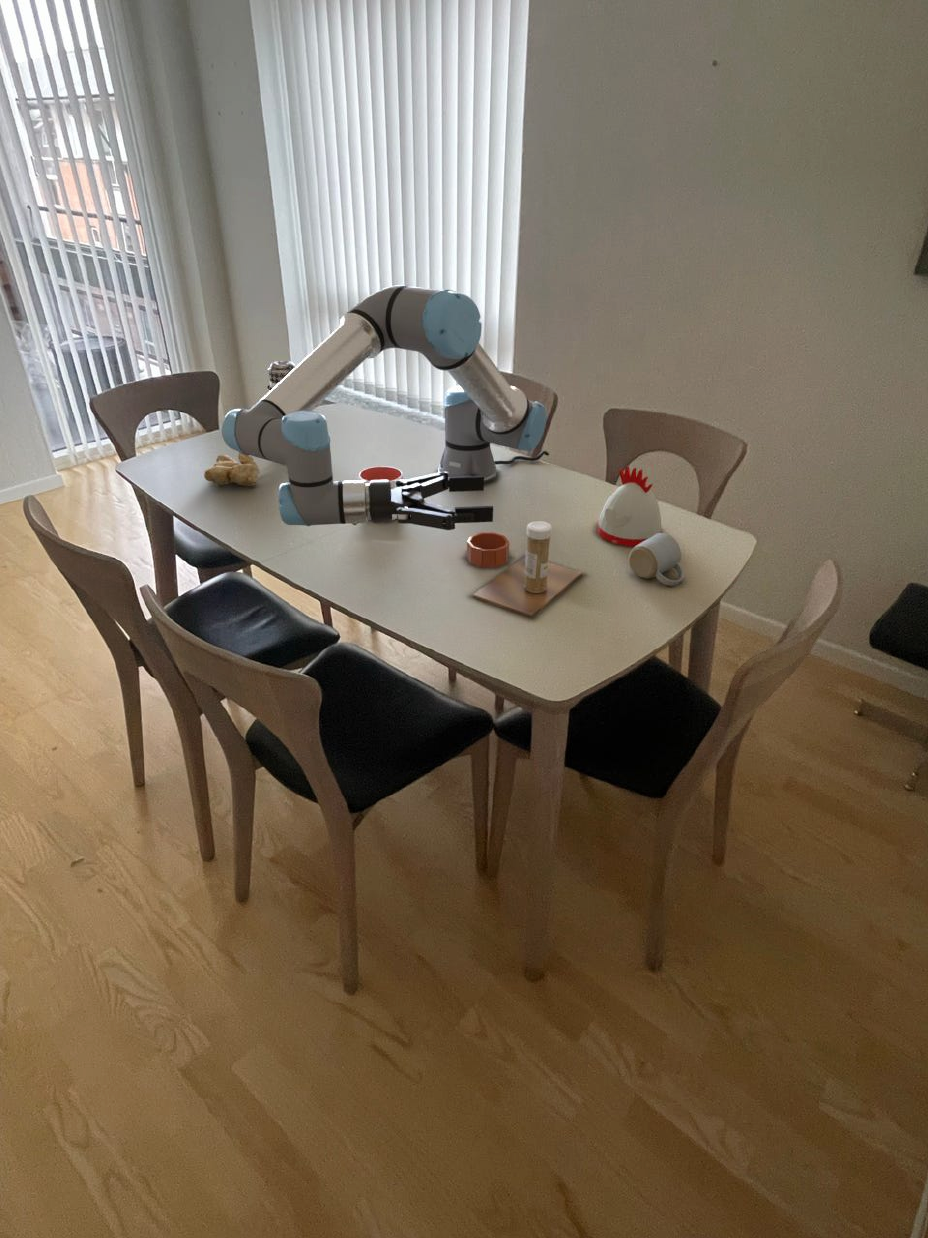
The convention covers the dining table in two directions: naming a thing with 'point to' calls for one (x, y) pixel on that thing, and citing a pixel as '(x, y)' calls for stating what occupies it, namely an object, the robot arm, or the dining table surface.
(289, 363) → the patterned tall cylinder
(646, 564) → the ceramic mug
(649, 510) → the kitchen timer
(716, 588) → the dining table surface
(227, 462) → the ginger root
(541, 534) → the sprinkles bottle
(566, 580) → the wooden board
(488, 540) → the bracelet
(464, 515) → the robot arm
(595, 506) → the dining table surface
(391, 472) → the cup
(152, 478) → the dining table surface
